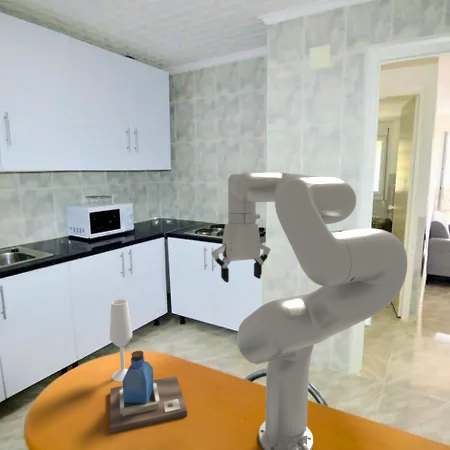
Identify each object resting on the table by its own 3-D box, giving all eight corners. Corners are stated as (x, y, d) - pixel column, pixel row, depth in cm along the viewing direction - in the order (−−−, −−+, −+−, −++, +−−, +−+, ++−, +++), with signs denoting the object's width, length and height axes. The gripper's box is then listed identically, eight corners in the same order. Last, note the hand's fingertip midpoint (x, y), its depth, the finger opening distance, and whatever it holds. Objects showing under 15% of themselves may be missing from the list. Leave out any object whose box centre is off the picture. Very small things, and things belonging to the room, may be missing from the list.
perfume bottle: (153, 388, 92) (152, 348, 91) (146, 403, 86) (145, 360, 85) (131, 387, 93) (130, 347, 91) (123, 402, 87) (121, 359, 85)
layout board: (187, 415, 86) (187, 405, 86) (110, 433, 80) (109, 421, 80) (176, 380, 101) (176, 371, 101) (110, 392, 95) (110, 383, 95)
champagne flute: (137, 369, 107) (134, 298, 103) (128, 382, 100) (125, 306, 97) (117, 368, 108) (114, 297, 104) (107, 380, 101) (103, 305, 98)
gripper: (264, 216, 98) (263, 272, 100) (207, 218, 92) (208, 278, 94) (276, 219, 91) (275, 279, 93) (216, 222, 85) (216, 286, 87)
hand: (241, 279), depth 93 cm, fingers open, 9 cm apart
